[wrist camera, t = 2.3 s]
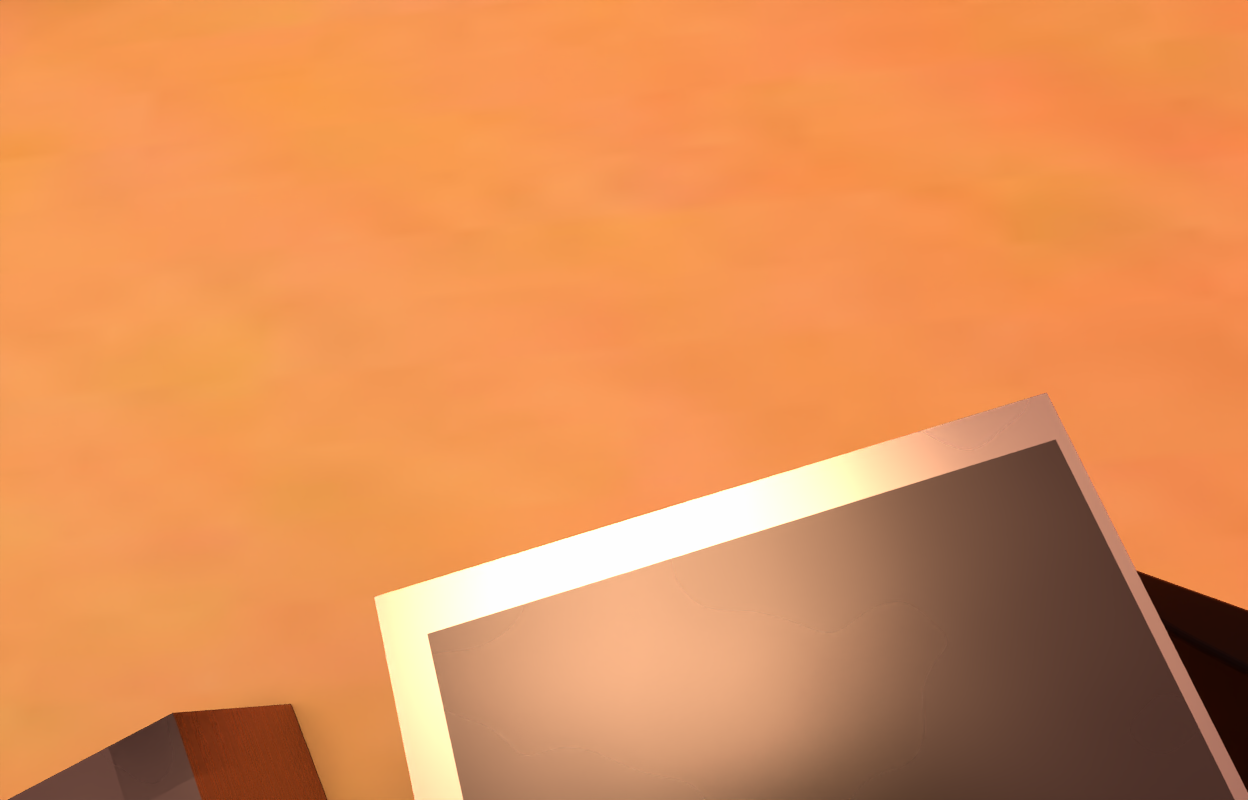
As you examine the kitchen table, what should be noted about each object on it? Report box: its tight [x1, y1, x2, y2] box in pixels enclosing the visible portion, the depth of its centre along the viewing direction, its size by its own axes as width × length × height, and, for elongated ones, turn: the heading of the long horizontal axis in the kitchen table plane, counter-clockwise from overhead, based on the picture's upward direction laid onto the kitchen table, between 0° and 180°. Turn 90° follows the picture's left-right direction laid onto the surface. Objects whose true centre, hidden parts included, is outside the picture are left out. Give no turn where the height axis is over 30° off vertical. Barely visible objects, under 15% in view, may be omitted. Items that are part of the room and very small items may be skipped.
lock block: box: [374, 393, 1248, 800], centre depth 10 cm, size 5×5×12 cm
